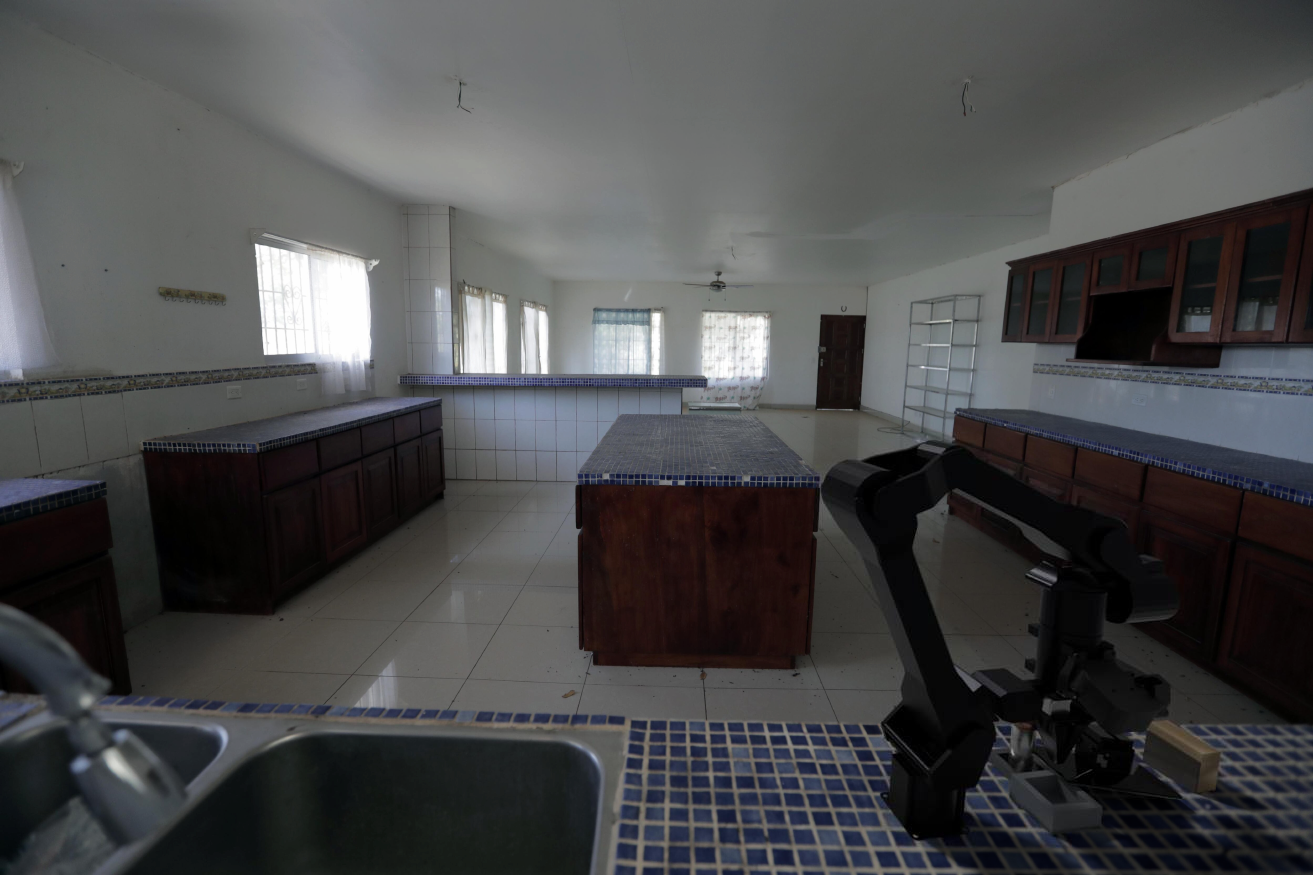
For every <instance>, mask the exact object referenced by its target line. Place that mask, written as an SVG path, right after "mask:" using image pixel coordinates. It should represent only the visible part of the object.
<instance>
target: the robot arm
mask: <svg viewBox="0 0 1313 875" xmlns="http://www.w3.org/2000/svg"><path fill="white" fill-rule="evenodd" d="M951 491H952V492H954V493H956V494H958V495H960V496H962V497H963V498H965V499H967V500H969V501H971V502H972V503H975V504H977V505H979V506H980V507H982V508H984V509H986V510H989V511H990V512H992V513H993V514H996V515H997V516H999V517H1002V518H1003V519H1006V520H1008V521H1009V522H1011V523H1012V524H1015V526H1017V527H1018V528H1019V529H1020V531H1021V533H1022V534H1023V536H1024V537H1025V538H1026V539H1028V540H1029V541H1030V542H1031V543H1033V545H1035V546H1036V547H1038V549H1040V550H1041V551H1043V552H1045V553H1046V554H1050V555H1051V556H1055V557H1057V558H1059V559H1062V560H1064V561H1065V560H1066V561H1067V562H1071V563H1073V564H1075V565H1078V566H1074V565H1072V566H1071V565H1070V566H1069V565H1068V566H1061V565H1058V564H1056V563H1054V562H1051V561H1049V560H1042V562H1041V563H1040V564H1039V565H1038V566H1036V567H1034V568H1032V569H1030V570H1028V572H1027V573H1025V574H1024V579H1025V580H1026V581H1028V582H1030V583H1032V584H1034V585H1037V586H1040V587H1041V591H1040V592H1041V593H1040V601H1039V610H1038V611H1039V612H1038V620H1037V621H1038V622H1035V623H1028V626H1027V627H1028V628H1027V633H1028V634H1029V635H1031V636H1033V637H1035V638H1036V642H1035V650H1034V657H1033V658H1032V657H1031V658H1025V659H1024V665H1023V666H1024V669H1026V670H1028V671H1029V672H1030V673H1032V674H1033V678H1026V679H1025V678H1024V679H1021V678H1020V676H1019V677H1018V676H1017V675H1015V674H1014V673H1013V672H1011V671H1010V670H1009V669H1007V668H1006V667H1001V668H990V669H979V670H978V669H977V670H976V671H973V672H971V674H969V672H967V671H965V670H964V669H963V668H962V667H960V666H959V665H958V664H956V663H955V662H954V660H953V658H952V655H951V652H950V649H949V646H948V643H947V641H946V638H945V635H944V633H943V630H942V627H941V625H940V624H941V623H940V622H939V619H938V615H937V613H936V610H935V608H934V604H933V603H932V602H933V601H932V600H931V596H930V593H929V590H928V588H927V584H926V583H925V579H924V577H923V573H922V571H921V568H920V565H919V563H918V559H917V557H916V554H915V552H914V543H915V539H916V534H917V530H918V527H919V519H918V515H920V514H922V513H924V512H926V511H929V510H931V509H933V508H934V507H935V506H936V505H938V503H939V502H940V501H941V500H943V498H944V497H945V496H946V495H947V494H948V493H949V492H951ZM820 494H821V495H820V496H821V499H822V502H823V504H824V506H825V507H826V509H827V510H828V512H829V514H830V515H831V517H832V518H833V520H834V522H835V524H836V525H837V527H838V528H839V529H840V530H841V531H842V533H843V534H844V535H845V537H846V538H847V539H848V540H849V541H850V543H851V544H852V545H853V546H854V548H855V549H856V550H857V552H859V554H860V556H861V558H862V561H863V563H864V566H865V569H866V571H867V573H868V576H869V579H870V581H871V584H872V587H873V590H874V592H875V596H876V598H877V601H878V604H879V605H880V609H881V611H882V614H883V617H884V619H885V623H886V624H887V627H888V629H889V632H890V635H891V638H892V640H893V642H894V645H895V648H896V651H897V654H898V656H899V658H900V662H901V664H902V666H903V668H904V675H903V678H902V682H901V684H900V693H901V698H902V699H901V701H900V702H899V703H898V704H897V705H896V706H895V707H893V708H894V709H892V711H890V713H888V715H887V716H885V717H884V719H882V721H881V722H880V727H881V730H882V734H883V737H884V740H886V742H888V743H890V744H891V746H892V747H893V748H895V750H896V751H897V752H896V753H895V752H894V753H891V763H890V775H889V776H890V777H889V788H888V791H882V792H880V793H879V796H880V798H881V799H882V801H883V803H885V805H886V806H887V807H888V809H889V810H890V812H891V813H892V814H893V816H894V817H895V818H896V820H898V822H899V824H901V826H902V828H903V829H904V831H906V833H907V834H908V836H910V838H911V839H912V840H914V841H923V840H932V839H938V838H939V839H941V838H946V837H954V836H962V835H963V836H964V835H969V834H971V833H972V830H971V828H970V827H969V826H968V824H966V822H965V821H964V820H963V819H962V818H961V817H964V815H965V806H966V797H967V796H966V795H967V789H973V788H976V787H977V786H978V784H979V782H980V778H982V775H983V772H984V770H985V768H986V765H987V762H989V761H988V758H989V756H990V754H991V751H992V749H993V748H994V744H995V743H996V742H997V728H996V725H995V723H998V722H1000V720H1002V721H1003V722H1005V723H1010V724H1012V723H1021V722H1030V721H1034V722H1035V725H1036V727H1037V729H1038V730H1037V732H1038V734H1039V737H1040V739H1041V742H1042V745H1044V747H1045V749H1046V752H1047V754H1048V757H1049V758H1050V760H1051V761H1053V762H1054V763H1055V764H1063V763H1064V762H1065V760H1066V759H1067V757H1068V756H1069V754H1070V752H1071V751H1072V749H1073V750H1074V749H1075V746H1076V743H1077V741H1078V739H1079V738H1080V736H1081V735H1082V733H1083V732H1084V731H1085V729H1086V728H1087V727H1088V725H1089V724H1093V723H1096V725H1099V726H1100V727H1101V728H1102V729H1103V730H1105V731H1106V732H1108V733H1110V734H1113V735H1121V734H1126V733H1127V734H1128V733H1135V732H1138V733H1144V732H1146V731H1147V730H1148V729H1149V725H1150V724H1151V722H1153V721H1155V719H1159V718H1168V717H1169V715H1170V713H1169V709H1168V707H1169V706H1170V704H1171V701H1172V700H1171V695H1172V694H1171V687H1172V686H1171V685H1172V684H1170V682H1168V681H1167V680H1166V679H1165V678H1164V677H1163V676H1162V675H1161V674H1159V673H1152V674H1151V673H1149V674H1148V673H1145V672H1144V671H1142V670H1140V669H1138V668H1137V667H1134V666H1132V665H1131V664H1129V663H1127V662H1125V661H1124V660H1121V659H1120V658H1117V651H1116V649H1115V645H1114V644H1113V643H1111V642H1108V641H1107V640H1105V634H1106V633H1105V631H1106V623H1107V622H1108V623H1111V624H1116V625H1117V624H1118V625H1119V624H1130V623H1142V622H1149V621H1150V622H1151V621H1163V620H1168V619H1170V618H1172V617H1173V616H1175V615H1176V614H1177V612H1178V611H1179V609H1180V607H1181V601H1182V598H1181V595H1180V594H1179V590H1178V587H1177V586H1176V583H1175V582H1174V581H1173V580H1172V578H1171V576H1170V575H1169V574H1167V572H1165V571H1164V566H1165V565H1164V564H1165V562H1164V560H1162V559H1159V558H1156V557H1154V556H1151V555H1147V554H1139V553H1138V551H1137V549H1136V548H1135V545H1134V544H1133V542H1132V540H1131V538H1130V536H1129V535H1128V532H1129V530H1130V529H1129V527H1128V525H1127V523H1126V522H1125V521H1123V519H1121V518H1120V517H1117V516H1114V515H1112V514H1107V513H1104V512H1101V511H1097V510H1094V509H1090V508H1087V507H1083V506H1080V505H1076V504H1073V503H1070V502H1067V501H1063V500H1060V499H1057V498H1055V497H1053V496H1052V495H1050V494H1047V493H1046V492H1043V491H1042V490H1040V489H1038V488H1036V487H1035V486H1033V485H1031V484H1029V483H1027V482H1025V481H1023V480H1022V479H1019V478H1018V477H1016V476H1014V475H1012V474H1011V473H1009V472H1007V471H1005V470H1003V469H1001V468H999V467H998V466H996V465H994V464H992V463H991V462H988V461H986V460H985V459H983V458H982V457H979V456H978V455H976V454H974V453H973V452H972V451H971V450H970V449H969V448H968V447H966V446H964V445H961V444H957V443H953V442H952V443H951V442H947V441H942V440H939V439H930V440H926V441H922V442H920V443H917V444H915V445H912V446H910V447H907V448H903V449H898V450H893V451H889V452H884V453H880V454H879V453H878V454H875V455H870V456H868V457H866V458H863V459H860V460H859V459H851V458H850V459H844V460H841V461H839V462H837V463H836V464H834V465H833V466H832V467H831V468H830V469H829V471H828V472H827V473H826V475H825V477H824V480H823V482H821V483H820ZM1079 566H1081V567H1079ZM1082 567H1083V568H1082ZM1085 568H1086V569H1088V570H1086V569H1085ZM884 795H885V796H884ZM965 829H967V830H965ZM914 835H915V836H917V837H915V836H914Z"/></svg>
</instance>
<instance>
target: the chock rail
mask: <svg viewBox="0 0 1313 875" xmlns="http://www.w3.org/2000/svg"><path fill="white" fill-rule="evenodd" d="M1145 732H1146V733H1145V738H1144V746H1143V747H1144V748H1143V754H1142V762H1143V763H1144V764H1146V765H1147V766H1149V767H1150V768H1152V769H1153V770H1155V771H1156V772H1158V773H1160V774H1162V775H1163V776H1165V777H1166V778H1169V779H1170V780H1172V782H1175V783H1176V784H1178V785H1180V786H1181V787H1183V788H1184V789H1187V790H1188V791H1190V792H1192V793H1193V794H1197V793H1198V794H1199V793H1204V792H1205V791H1206V792H1211V790H1212V791H1216V787H1217V781H1218V774H1219V767H1220V760H1221V756H1222V751H1220V750H1219V749H1217V748H1215V747H1213V746H1211V745H1210V744H1208V743H1206V742H1205V741H1204V740H1202V739H1200V738H1198V737H1197V736H1196V735H1195V736H1194V735H1193V734H1192V733H1190V732H1188V731H1186V729H1183V728H1182V727H1179V726H1177V724H1175V723H1173V722H1171V721H1169V720H1168V719H1165V720H1153V721H1152V722H1151V724H1150V725H1149V727H1148V729H1147V730H1146V731H1145Z"/></svg>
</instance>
